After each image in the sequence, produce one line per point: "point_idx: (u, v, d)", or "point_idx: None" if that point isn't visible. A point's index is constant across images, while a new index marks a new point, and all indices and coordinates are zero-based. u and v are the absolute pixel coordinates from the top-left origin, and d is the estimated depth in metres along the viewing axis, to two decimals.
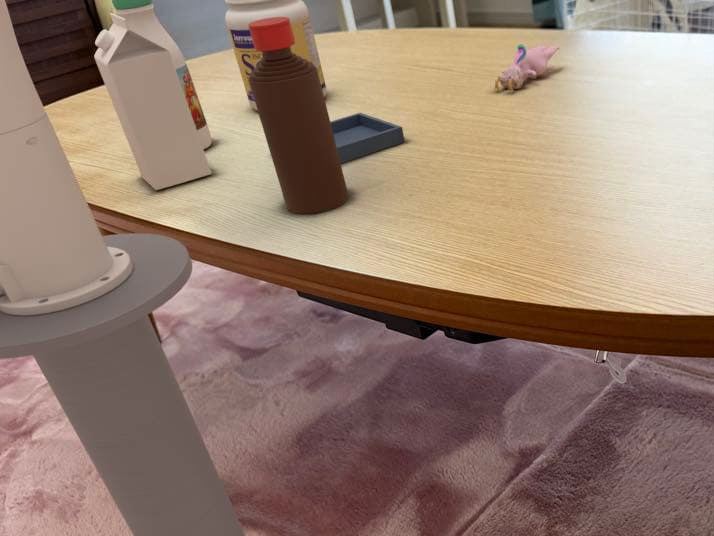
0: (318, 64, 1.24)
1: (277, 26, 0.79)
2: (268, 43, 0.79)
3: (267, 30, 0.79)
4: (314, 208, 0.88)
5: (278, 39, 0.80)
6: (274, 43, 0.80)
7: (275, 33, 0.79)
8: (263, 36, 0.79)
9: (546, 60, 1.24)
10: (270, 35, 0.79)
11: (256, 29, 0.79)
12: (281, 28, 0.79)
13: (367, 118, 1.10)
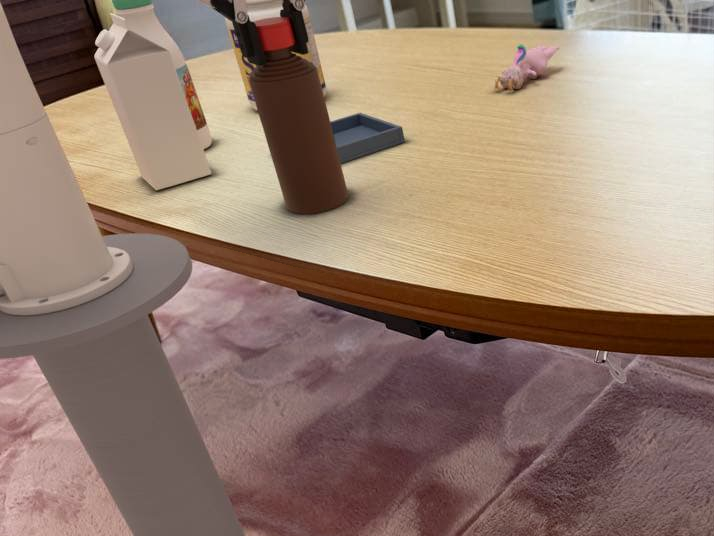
0: (318, 64, 1.24)
1: (277, 26, 0.79)
2: (268, 43, 0.80)
3: (267, 30, 0.79)
4: (314, 208, 0.88)
5: (278, 39, 0.80)
6: (274, 43, 0.80)
7: (275, 33, 0.79)
8: (263, 36, 0.79)
9: (546, 60, 1.24)
10: (270, 35, 0.79)
11: None
12: (281, 28, 0.79)
13: (367, 118, 1.10)
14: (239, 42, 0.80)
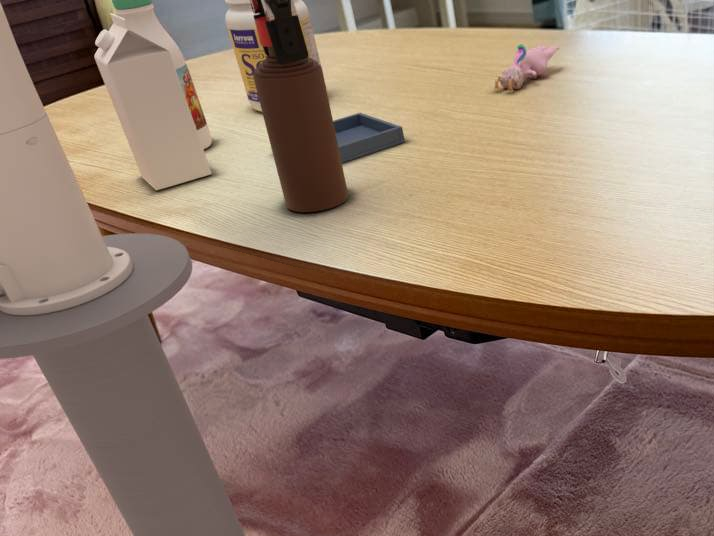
0: None
1: None
2: None
3: None
4: (314, 206, 0.88)
5: None
6: None
7: None
8: None
9: (546, 60, 1.24)
10: None
11: None
12: None
13: (367, 118, 1.10)
14: (285, 40, 0.79)
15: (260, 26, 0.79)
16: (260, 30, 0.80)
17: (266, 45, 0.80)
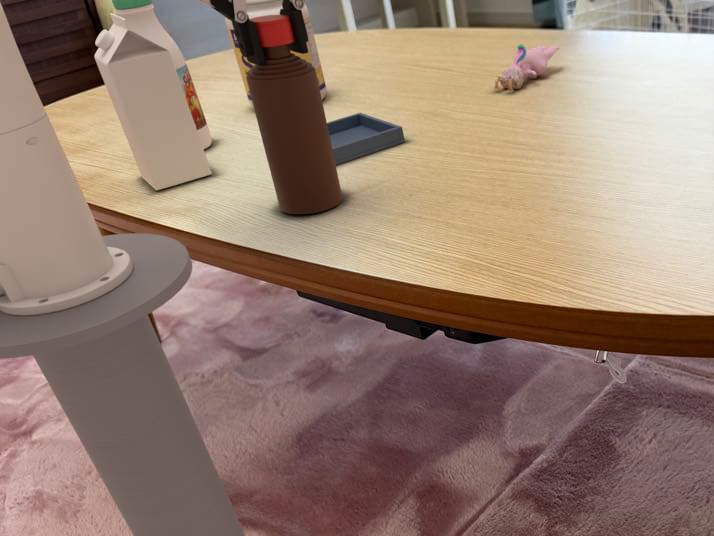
0: (318, 64, 1.24)
1: None
2: None
3: None
4: (308, 208, 0.88)
5: None
6: None
7: None
8: None
9: (546, 60, 1.24)
10: None
11: None
12: None
13: (367, 118, 1.10)
14: (238, 41, 0.80)
15: (279, 24, 0.79)
16: (279, 29, 0.79)
17: (286, 43, 0.80)
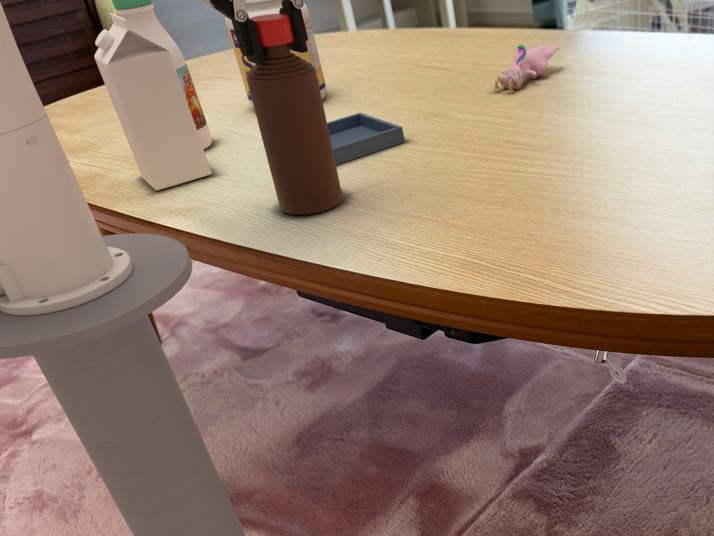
0: (318, 64, 1.24)
1: None
2: None
3: None
4: (309, 209, 0.88)
5: None
6: None
7: None
8: None
9: (546, 60, 1.24)
10: None
11: None
12: None
13: (367, 118, 1.10)
14: (238, 40, 0.80)
15: None
16: None
17: None
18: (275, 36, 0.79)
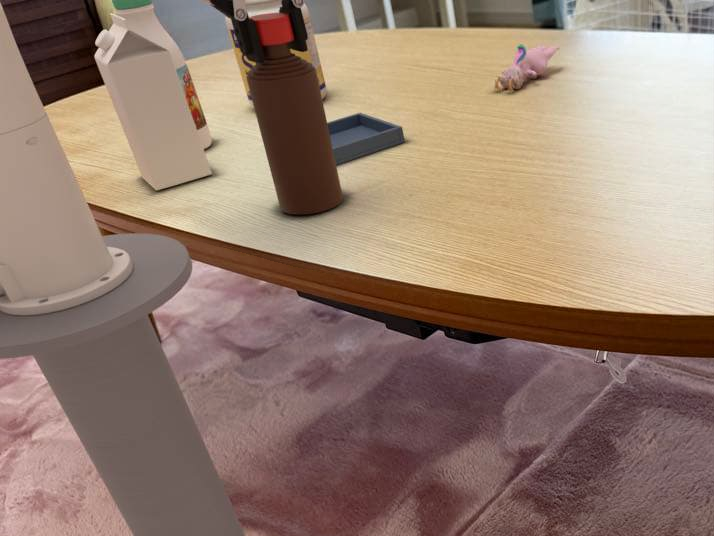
0: (318, 64, 1.24)
1: (263, 23, 0.78)
2: None
3: None
4: (309, 209, 0.88)
5: (263, 35, 0.79)
6: None
7: (260, 29, 0.79)
8: None
9: (546, 60, 1.24)
10: None
11: None
12: (266, 25, 0.78)
13: (367, 118, 1.10)
14: (238, 39, 0.79)
15: None
16: None
17: None
18: None
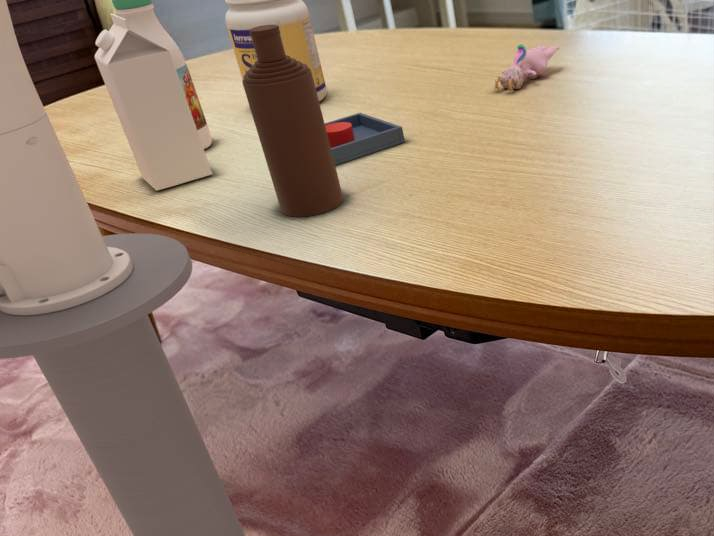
0: (318, 64, 1.24)
1: (350, 128, 1.04)
2: (347, 142, 1.04)
3: (346, 132, 1.04)
4: (310, 210, 0.88)
5: (352, 137, 1.05)
6: (350, 141, 1.05)
7: (350, 134, 1.04)
8: (343, 137, 1.04)
9: (546, 60, 1.24)
10: (348, 135, 1.04)
11: (338, 133, 1.03)
12: (352, 129, 1.05)
13: (367, 118, 1.10)
14: None
15: None
16: None
17: None
18: None
